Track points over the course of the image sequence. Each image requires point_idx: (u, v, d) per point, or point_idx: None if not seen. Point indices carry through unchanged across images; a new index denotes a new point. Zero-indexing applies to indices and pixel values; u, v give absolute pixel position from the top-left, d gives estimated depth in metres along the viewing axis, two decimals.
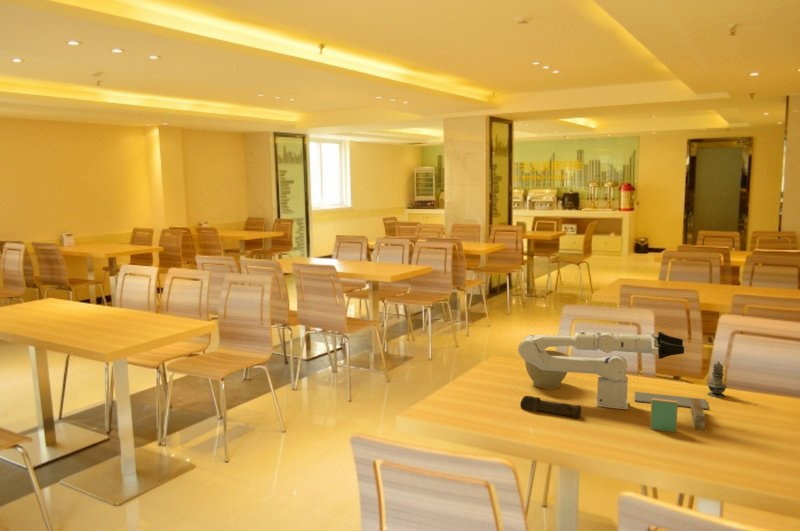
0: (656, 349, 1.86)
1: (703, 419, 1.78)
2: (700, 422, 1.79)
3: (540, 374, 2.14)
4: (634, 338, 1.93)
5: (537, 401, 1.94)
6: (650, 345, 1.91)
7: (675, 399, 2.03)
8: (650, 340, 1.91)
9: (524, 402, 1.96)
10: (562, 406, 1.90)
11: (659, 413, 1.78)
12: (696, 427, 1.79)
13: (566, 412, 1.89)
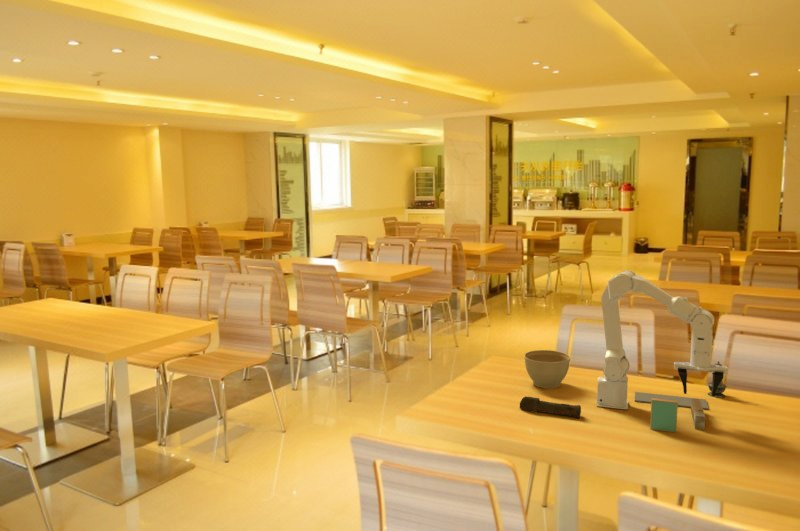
0: (674, 367, 1.87)
1: (703, 419, 1.78)
2: (700, 422, 1.79)
3: (540, 374, 2.14)
4: (708, 351, 1.81)
5: (537, 402, 1.93)
6: (690, 363, 1.85)
7: (675, 399, 2.03)
8: (693, 364, 1.83)
9: (523, 403, 1.95)
10: (562, 406, 1.90)
11: (659, 413, 1.78)
12: (696, 427, 1.79)
13: (566, 412, 1.89)
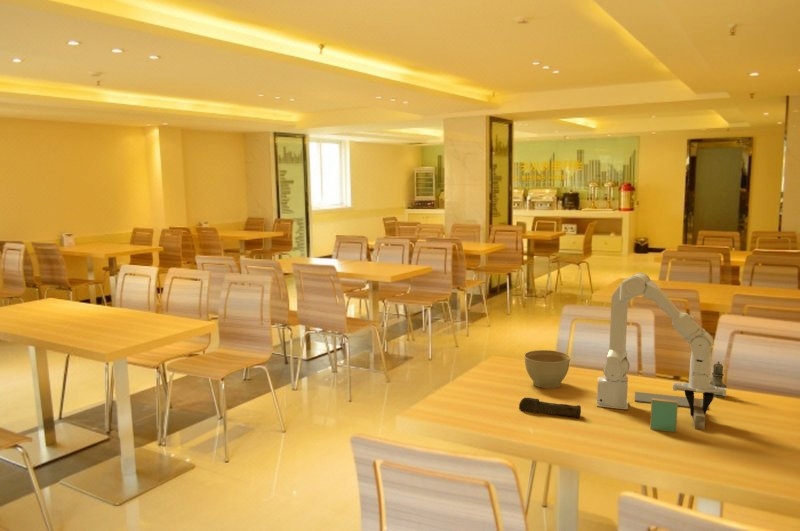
0: (673, 388, 1.87)
1: (703, 419, 1.78)
2: (700, 422, 1.79)
3: (540, 374, 2.14)
4: (706, 372, 1.82)
5: (537, 402, 1.92)
6: (689, 384, 1.86)
7: (675, 399, 2.03)
8: (692, 386, 1.84)
9: (523, 404, 1.94)
10: (562, 407, 1.90)
11: (659, 413, 1.78)
12: (696, 427, 1.79)
13: (567, 412, 1.89)
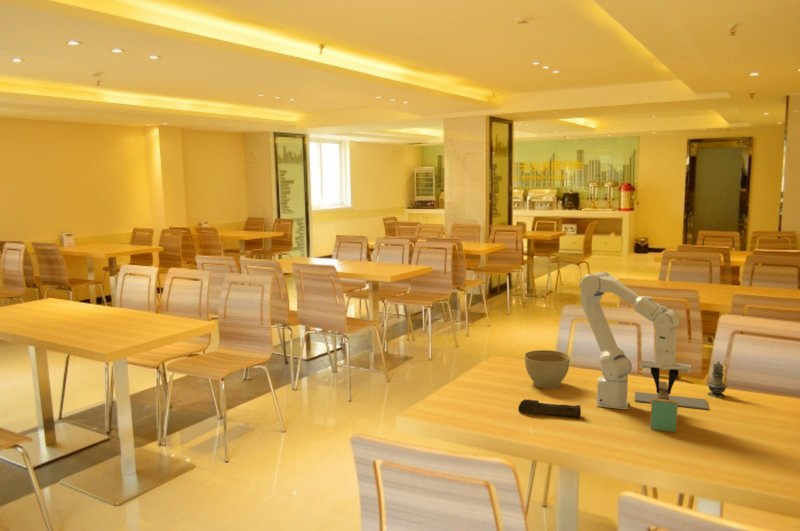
0: (639, 366, 1.89)
1: None
2: None
3: (540, 374, 2.14)
4: (669, 350, 1.83)
5: (537, 404, 1.91)
6: (654, 362, 1.87)
7: (675, 399, 2.03)
8: (657, 363, 1.86)
9: (522, 406, 1.92)
10: (563, 407, 1.89)
11: (659, 413, 1.78)
12: None
13: (567, 413, 1.89)
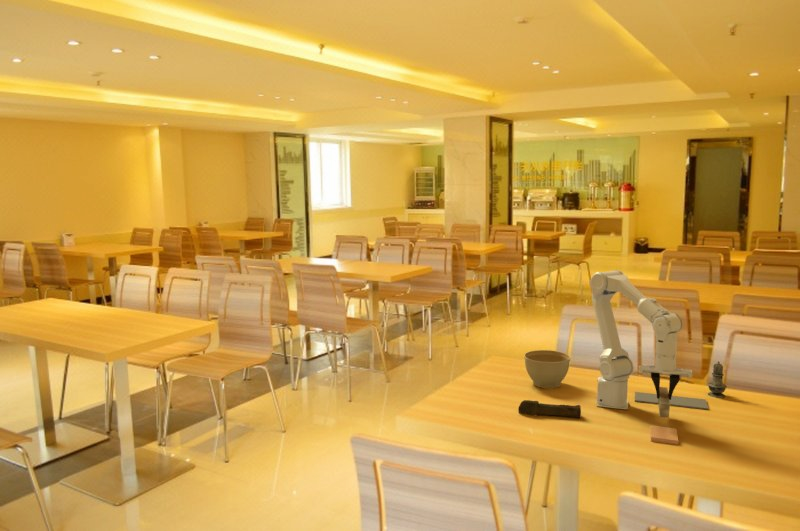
0: (639, 371, 1.84)
1: (668, 407, 1.75)
2: (665, 410, 1.75)
3: (540, 374, 2.14)
4: (667, 354, 1.78)
5: (537, 405, 1.90)
6: (655, 366, 1.82)
7: (675, 399, 2.03)
8: (657, 368, 1.81)
9: (522, 407, 1.92)
10: (563, 407, 1.89)
11: None
12: (661, 415, 1.76)
13: (567, 413, 1.89)
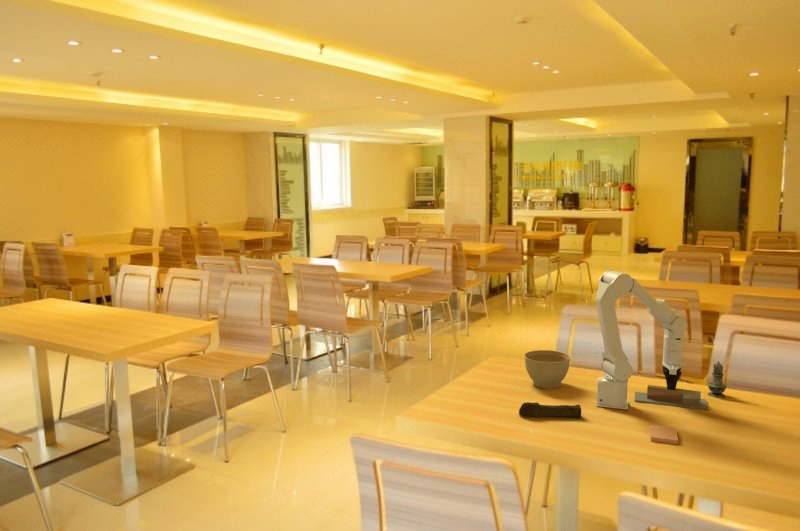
0: (675, 373, 1.95)
1: None
2: None
3: (540, 374, 2.14)
4: None
5: (538, 406, 1.89)
6: (674, 364, 1.99)
7: None
8: (678, 364, 1.99)
9: (524, 409, 1.89)
10: (564, 408, 1.88)
11: None
12: None
13: (568, 413, 1.88)
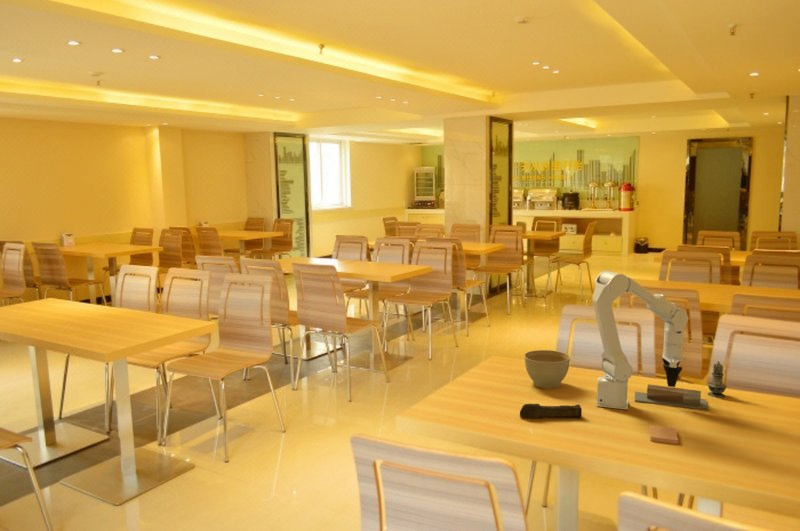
0: (675, 366, 1.94)
1: (700, 393, 1.98)
2: None
3: (540, 374, 2.14)
4: (682, 342, 1.99)
5: (539, 407, 1.88)
6: (674, 357, 1.98)
7: None
8: (679, 357, 1.98)
9: (525, 411, 1.88)
10: (564, 408, 1.88)
11: None
12: None
13: (569, 413, 1.88)
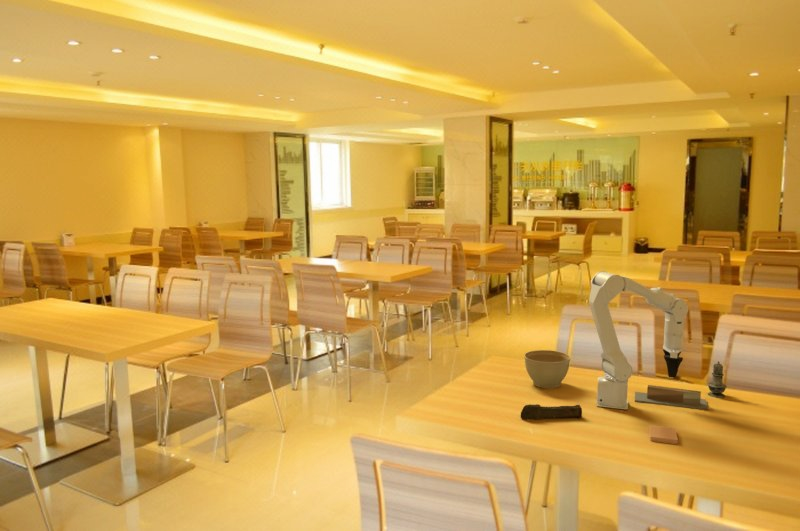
0: (676, 356, 1.94)
1: None
2: None
3: (540, 374, 2.14)
4: None
5: (540, 408, 1.87)
6: (675, 348, 1.98)
7: None
8: (679, 347, 1.98)
9: (525, 412, 1.87)
10: (565, 408, 1.88)
11: None
12: None
13: (569, 414, 1.88)
